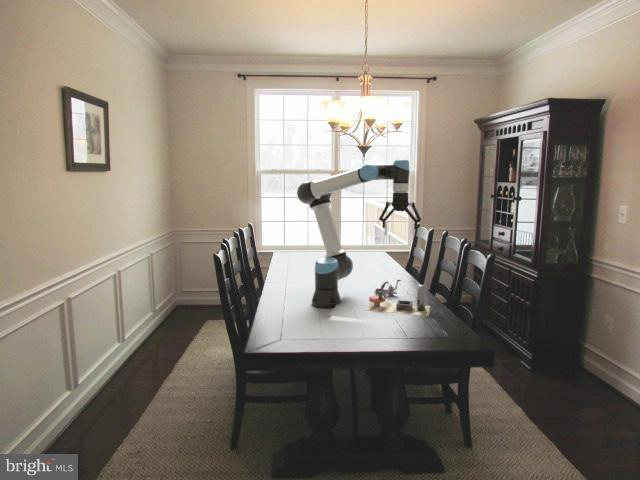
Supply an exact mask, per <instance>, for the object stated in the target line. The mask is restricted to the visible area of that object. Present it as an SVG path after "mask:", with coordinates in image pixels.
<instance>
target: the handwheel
mask: <svg viewBox="0 0 640 480" xmlns="http://www.w3.org/2000/svg"><path fill="white" fill-rule="evenodd" d="M368 301H369V303H370V302H374V307H380V303H382V302H386V296H383V295H382V291H379V295H378V296H376V295H371V296H369V297H368Z"/></svg>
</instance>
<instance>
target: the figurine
mask: <svg viewBox="0 0 640 480" xmlns="http://www.w3.org/2000/svg"><path fill="white" fill-rule="evenodd" d="M401 281H402V280H401V279H396V284H395V286H393V285H391V284H390V282H389V281H385V282H382V283H383V284H382V283H381V285H380V286H381V287H380V288H378V287H377V288H375V290H374V292H373V293H374V296H379V291H382V296H384V297H386V296H389V297H395V296H396V295H397V294H398V292H397V290H398V289H397V288H398V285H399V282H401ZM386 284H387V285H388V288H386V289H385V287H386Z"/></svg>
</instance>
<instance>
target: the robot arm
mask: <svg viewBox="0 0 640 480" xmlns="http://www.w3.org/2000/svg"><path fill="white" fill-rule="evenodd" d="M377 180H379V181H380V180H385V181H387V180H391V181H392V191H393V192H392V202H390V201H387V202H385V207H384V208H383V211H382V212H381V214H380V216H379V218H378V220H379V221H380V222H382V228H383V229H384V236H387V235H388V221H387V220H388V219H389V218H390V217H391V216H392V215H393V213H394V212H395V211H396V212H406V214H407V215H408V216H409V217H410V219H411V220H413V223H412V237H415V235H416V234H415V232H416V230H418V223H420V222H421V221H422V218H421V216H420V214H419V212H418V209H417V208H416V203H415V202H414V201H413V202H409V191H410V187H409V186H410V161H409V160H408V159H394V160H393V162H392V163H390V164H389V163H388V164H387V163H366V164H364V165H362V166H360V167H357V168H354V169H351V170H348V171H345V172H343V173H342V172H341V173H339V174H335V175H332V176H329V177H326V178H323V179H320V180H310V181H305V182H302V183H301V184H300V185H299V186H298V188H297V190H296V193H297V194H296V195H297V198H298V200H299V201H300V202H301V203H302V204H305V205H308V206H309V209H310V210H312V211H313V212H314V216H315V219H316V222H317V225H318V228H319V232H320V236H321V240H322V243H323V246H324V249H325V254H326V255H324V257H323V258H322V257H321V258H319V259H317V260H316V261H315V263H314V265H315V266H314V278H315V279H314V285H315V286H314V287H315V289H314V292H313V295H312V299H311V305H312V306H313V307H315V308H319V309H333V308H335V307H336V306H337V305H339V304H341V303H342V298H341V295H340V292H339V287H338V286H339V285H338V284H339V281H340V280H342V279H345V278H347V277H348V276H349V275H351V273H352V271H353V270H354V269H353V268H354V263H353V261H352V259H351V257H349V256H348V255H347V251H346V250H344V249H342V244H341V242H340V238H339V234H338V231H337V229H336V224H335V222H334V218H333V215H332V211H331V208H330V205H331V203H332V201H331V198H332V193H335V192H339V191H342V190H345V189H348V188H351V187H355V186H358V185H361V184H365V183H368V182H371V181H377ZM391 206H392V207H393V208H392V209H391V210H390V211H389V212H388V213H387V215H386V216H385V214H386V212H387V211H388V210H389V207H391ZM408 207H410V208H412V210H413V213H414V214H415V216H416V217H415V216H414V214H413V213H412V212H411V211H410V210H409V208H408Z"/></svg>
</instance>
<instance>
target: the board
mask: <svg viewBox="0 0 640 480" xmlns="http://www.w3.org/2000/svg"><path fill="white" fill-rule="evenodd" d="M365 311H368V312H377V313H378V312H380V313H388V314H389V313H391V314H403V315H411V316H426V317H429V315H430V311H431V305H426V308H425V311H419V310H417V304H415V303H414V304H413V300H402V299H401V300H400V299H398V300H397V302H389V301H385V302H382V303H380V307H374V302H370V301H369V303H368V305H367V307H366V308H365Z"/></svg>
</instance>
